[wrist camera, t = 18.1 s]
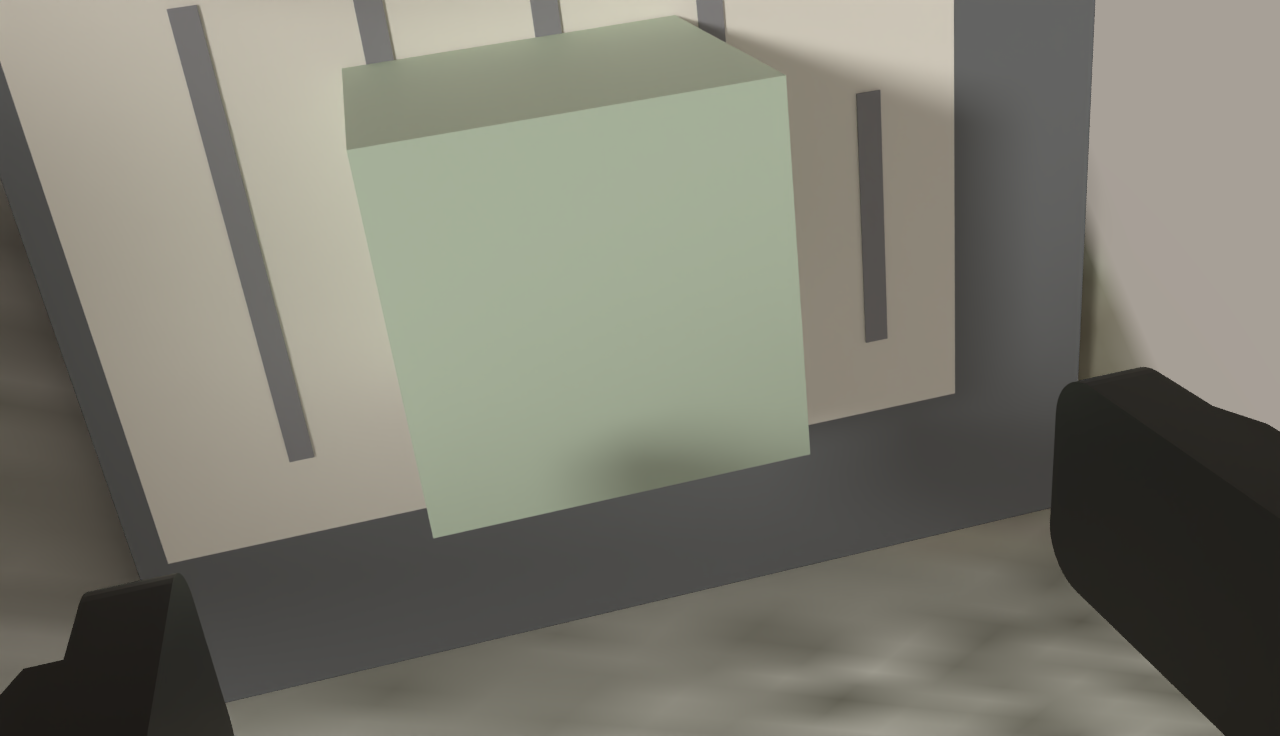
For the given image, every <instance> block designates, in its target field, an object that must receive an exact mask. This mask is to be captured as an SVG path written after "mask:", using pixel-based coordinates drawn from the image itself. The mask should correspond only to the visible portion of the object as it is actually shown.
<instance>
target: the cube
mask: <svg viewBox="0 0 1280 736" xmlns="http://www.w3.org/2000/svg"><path fill="white" fill-rule="evenodd" d="M342 82H343V99H344V116H345V133H346V150H347V155H348V159H349V164H350V168H351V172H352V177H353V181H354V186H355V190H356V195H357V199H358V204H359V208H360V213H361V217H362V222H363V226H364V231H365V235H366V240H367V244H368V248H369V253H370V257H371V262H372V266H373V271H374V275H375V280H376V284H377V289H378V293H379V298H380V302H381V307H382V311H383V316H384V320H385V324H386V329H387V333H388V338H389V342H390V347H391V351H392V356H393V360H394V365H395V369H396V374H397V378H398V383H399V387H400V392H401V396H402V400H403V405H404V409H405V414H406V418H407V423H408V427H409V432H410V436H411V441H412V445H413V450H414V454H415V459H416V463H417V467H418V472H419V476H420V481H421V485H422V490H423V494H424V499H425V503H426V508H427V512H428V517H429V521H430V526H431V530H432V535H433V538H438V537H442V536H447V535H451V534H456V533H460V532H464V531H469V530H473V529H478V528H482V527H487V526H491V525H496V524H500V523H505V522H509V521H514V520H518V519H523V518H527V517H532V516H536V515H541V514H545V513H550V512H554V511H559V510H563V509H568V508H572V507H576V506H581V505H585V504H590V503H594V502H599V501H603V500H608V499H612V498H617V497H621V496H626V495H630V494H635V493H639V492H644V491H648V490H653V489H657V488H662V487H666V486H671V485H675V484H680V483H684V482H688V481H693V480H697V479H702V478H706V477H711V476H715V475H720V474H724V473H729V472H733V471H738V470H742V469H747V468H751V467H756V466H760V465H765V464H769V463H774V462H778V461H783V460H787V459H791V458H796V457H800V456H805V455H809V454H810V442H809V426H808V411H807V395H806V380H805V364H804V348H803V333H802V317H801V302H800V286H799V270H798V255H797V239H796V224H795V208H794V193H793V177H792V161H791V146H790V130H789V115H788V99H787V83H786V75H784V74H783V73H781V72H779V71H777V70H775V69H773V68H772V67H770V66H768V65H766V64H764V63H762V62H761V61H759V60H757V59H755V58H753V57H751V56H749V55H748V54H746V53H744V52H742V51H740V50H738V49H737V48H735V47H733V46H731V45H729V44H727V43H726V42H724V41H722V40H720V39H718V38H716V37H715V36H713V35H711V34H709V33H707V32H705V31H703V30H702V29H700V28H698V27H696V26H694V25H692V24H691V23H689V22H687V21H685V20H683V19H681V18H680V17H678V16H676V15H673V16H667V17H661V18H654V19H648V20H642V21H636V22H629V23H623V24H617V25H611V26H604V27H598V28H592V29H586V30H579V31H573V32H567V33H561V34H554V35H548V36H542V37H535V38H529V39H523V40H517V41H510V42H504V43H498V44H492V45H485V46H479V47H473V48H467V49H460V50H454V51H448V52H442V53H435V54H429V55H423V56H417V57H410V58H404V59H398V60H392V61H385V62H379V63H373V64H367V65H360V66H354V67H348V68H342Z"/></svg>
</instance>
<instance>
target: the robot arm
mask: <svg viewBox="0 0 1280 736" xmlns="http://www.w3.org/2000/svg"><path fill="white" fill-rule="evenodd" d="M1050 532H1051V539H1052V545H1053V549H1054V552H1055V555H1056V558H1057V561H1058V563H1059V566H1060V568H1061V570H1062V572H1063V574H1064V575H1065V577H1066V579H1067V580H1068V582H1069V583H1070V584H1071V586H1072V587H1073V588H1074V589H1075V590H1076V591H1077V592H1078V593H1079V594H1080V595H1081V596H1082V597H1083V598H1084V599H1085V600H1086V601H1087V602H1088V603H1089V604H1090V605H1091V606H1092V607H1093V608H1094V609H1095V610H1096V611H1097V612H1098V613H1099V614H1100V615H1101V616H1102V617H1103V618H1104V619H1106V620H1107V621H1108V622H1109V623H1110V624H1111V625H1112V626H1113V627H1114V628H1115V629H1116V630H1117V631H1118V632H1119V633H1120V634H1121V635H1122V636H1123V637H1124V638H1125V639H1126V640H1127V641H1128V642H1129V643H1130V644H1131V645H1132V646H1133V647H1134V648H1135V649H1136V650H1137V651H1138V652H1140V653H1141V654H1142V655H1143V656H1144V657H1145V658H1146V659H1147V660H1148V661H1149V662H1150V663H1151V664H1152V665H1153V666H1154V667H1155V668H1156V669H1157V670H1158V671H1159V672H1160V673H1161V674H1162V675H1163V676H1164V677H1165V678H1166V679H1167V680H1168V681H1169V682H1170V683H1171V684H1173V685H1174V686H1175V687H1176V688H1177V689H1178V690H1179V691H1180V692H1181V693H1182V694H1183V695H1184V696H1185V697H1186V698H1187V699H1188V700H1189V701H1190V702H1191V703H1192V704H1193V705H1194V706H1195V707H1196V708H1197V709H1198V710H1199V711H1200V712H1201V713H1202V714H1203V715H1204V716H1205V717H1207V718H1208V719H1209V720H1210V721H1211V722H1212V723H1213V724H1214V725H1215V726H1216V727H1217V728H1218V729H1219V730H1220V731H1221V732H1222V733H1223V734H1224V735H1225V736H1280V431H1278V430H1276V429H1275V428H1273V427H1271V426H1270V425H1268V424H1266V423H1263V422H1260V421H1257V420H1253V419H1251V418H1248V417H1244V416H1241V415H1238V414H1235V413H1232V412H1229V411H1226V410H1223V409H1220V408H1217V407H1214V406H1212V405H1210V404H1209V403H1207V402H1205V401H1204V400H1202V399H1201V398H1199V397H1197V396H1196V395H1194V394H1193V393H1191V392H1189V391H1188V390H1186V389H1184V388H1183V387H1181V386H1180V385H1178V384H1177V383H1175V382H1173V381H1172V380H1170V379H1169V378H1167V377H1165V376H1164V375H1162V374H1161V373H1159V372H1157V371H1155V370H1153V369H1151V368H1147V367H1140V368H1135V369H1130V370H1126V371H1121V372H1116V373H1112V374H1107V375H1103V376H1098V377H1093V378H1089V379H1084V380H1079V381H1075V382H1071V383H1069V384H1067V385H1066V386H1065V387H1064V388H1063V390H1062V391H1061V393H1060V395H1059V397H1058V401H1057V406H1056V418H1055V438H1054V457H1053V476H1052V496H1051V515H1050ZM0 736H234V734H233V729H232V725H231V721H230V718H229V714H228V711H227V708H226V704H225V701H224V698H223V694H222V691H221V688H220V685H219V681H218V678H217V675H216V672H215V668H214V665H213V662H212V659H211V655H210V652H209V649H208V645H207V642H206V639H205V636H204V632H203V629H202V626H201V623H200V619H199V616H198V613H197V609H196V606H195V603H194V600H193V597H192V594H191V591H190V588H189V586H188V584H187V582H186V580H185V578H184V577H183V575H181V574H180V573H174V574H169V575H165V576H160V577H155V578H151V579H146V580H141V581H137V582H132V583H127V584H123V585H118V586H114V587H109V588H104V589H100V590H95V591H90V592H87V593H85V594H84V595H83V596H82V598H81V601H80V603H79V607H78V610H77V614H76V617H75V621H74V624H73V628H72V632H71V635H70V639H69V642H68V646H67V649H66V653H65V656H64V660H61V661H56V662H52V663H47V664H43V665H38V666H34V667H30V668H25V669H23V670H22V671H21V672H20V673H19V674H18V676H17V677H16V678H15V679H14V680H13V681H12V682H11V683H10V685H9V686H8V687H7V688H6V689H5V690H4V691H3V693H2V694H1V695H0Z"/></svg>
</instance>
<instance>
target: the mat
mask: <svg viewBox="0 0 1280 736" xmlns="http://www.w3.org/2000/svg"><path fill="white" fill-rule="evenodd" d="M673 15H676V16H678V17H680V18H681V19H683V20H685V21H687V22H689V23H691V24H692V25H694V26H696V27H698V28H700V29H702V30H703V31H705V32H707V33H709V34H711V35H713V36H715V37H716V38H718V39H720V40H722V41H724V42H726V43H727V44H729V45H731V46H733V47H735V48H737V49H738V50H740V51H742V52H744V53H746V54H748V55H749V56H751V57H753V58H755V59H757V60H759V61H761V62H762V63H764V64H766V65H768V66H770V67H772V68H773V69H775V70H777V71H779V72H781V73H783V74H784V75H786V83H787V99H788V115H789V130H790V146H791V161H792V177H793V193H794V208H795V224H796V239H797V255H798V270H799V286H800V302H801V317H802V333H803V348H804V364H805V380H806V395H807V411H808V426H809V442H810V454H809V455H805V456H800V457H796V458H791V459H787V460H783V461H778V462H774V463H769V464H765V465H760V466H756V467H751V468H747V469H742V470H738V471H733V472H729V473H724V474H720V475H715V476H711V477H706V478H702V479H697V480H693V481H688V482H684V483H680V484H675V485H671V486H666V487H662V488H657V489H653V490H648V491H644V492H639V493H635V494H630V495H626V496H621V497H617V498H612V499H608V500H603V501H599V502H594V503H590V504H585V505H581V506H576V507H572V508H568V509H563V510H559V511H554V512H550V513H545V514H541V515H536V516H532V517H527V518H523V519H518V520H514V521H509V522H505V523H500V524H496V525H491V526H487V527H482V528H478V529H473V530H469V531H464V532H460V533H456V534H451V535H447V536H442V537H438V538H433V535H432V530H431V526H430V521H429V517H428V512H427V508H426V503H425V499H424V494H423V490H422V485H421V481H420V476H419V472H418V467H417V463H416V459H415V454H414V450H413V445H412V441H411V436H410V432H409V427H408V423H407V418H406V414H405V409H404V405H403V400H402V396H401V392H400V387H399V383H398V378H397V374H396V369H395V365H394V360H393V356H392V351H391V347H390V342H389V338H388V333H387V329H386V324H385V320H384V316H383V311H382V307H381V302H380V298H379V293H378V289H377V284H376V280H375V275H374V271H373V266H372V262H371V257H370V253H369V248H368V244H367V240H366V235H365V231H364V226H363V222H362V217H361V213H360V208H359V204H358V199H357V195H356V190H355V186H354V181H353V177H352V172H351V168H350V164H349V159H348V155H347V150H346V133H345V116H344V99H343V82H342V68H348V67H354V66H360V65H367V64H373V63H379V62H385V61H392V60H398V59H404V58H410V57H417V56H423V55H429V54H435V53H442V52H448V51H454V50H460V49H467V48H473V47H479V46H485V45H492V44H498V43H504V42H510V41H517V40H523V39H529V38H535V37H542V36H548V35H554V34H561V33H567V32H573V31H579V30H586V29H592V28H598V27H604V26H611V25H617V24H623V23H629V22H636V21H642V20H648V19H654V18H661V17H667V16H673ZM1094 16H1095V0H0V178H1V181H2V184H3V187H4V190H5V193H6V195H7V198H8V201H9V204H10V207H11V210H12V213H13V216H14V218H15V221H16V224H17V227H18V230H19V233H20V236H21V238H22V241H23V244H24V247H25V250H26V253H27V256H28V259H29V261H30V264H31V267H32V270H33V273H34V276H35V279H36V282H37V284H38V287H39V290H40V293H41V296H42V299H43V302H44V304H45V307H46V310H47V313H48V316H49V319H50V322H51V325H52V327H53V330H54V333H55V336H56V339H57V342H58V345H59V347H60V350H61V353H62V356H63V359H64V362H65V365H66V368H67V370H68V373H69V376H70V379H71V382H72V385H73V388H74V391H75V393H76V396H77V399H78V402H79V405H80V408H81V411H82V413H83V416H84V419H85V422H86V425H87V428H88V431H89V434H90V436H91V439H92V442H93V445H94V448H95V451H96V454H97V456H98V459H99V462H100V465H101V468H102V471H103V474H104V477H105V479H106V482H107V485H108V488H109V491H110V494H111V497H112V500H113V502H114V505H115V508H116V511H117V514H118V517H119V520H120V522H121V525H122V528H123V531H124V534H125V537H126V540H127V543H128V545H129V548H130V551H131V554H132V557H133V560H134V563H135V565H136V568H137V571H138V574H139V577H140V580H146V579H151V578H155V577H160V576H165V575H169V574H174V573H180V574H181V575H183V577H184V578H185V580H186V582H187V584H188V586H189V588H190V591H191V594H192V597H193V600H194V603H195V606H196V609H197V613H198V616H199V619H200V623H201V626H202V629H203V632H204V636H205V639H206V642H207V645H208V649H209V652H210V655H211V659H212V662H213V665H214V668H215V672H216V675H217V678H218V681H219V685H220V688H221V691H222V694H223V698H224V701H225V703H227V702H231V701H235V700H239V699H244V698H248V697H252V696H256V695H261V694H265V693H269V692H273V691H278V690H282V689H286V688H290V687H294V686H299V685H303V684H307V683H311V682H316V681H320V680H324V679H328V678H333V677H337V676H341V675H345V674H350V673H354V672H358V671H362V670H366V669H371V668H375V667H379V666H383V665H388V664H392V663H396V662H400V661H405V660H409V659H413V658H417V657H422V656H426V655H430V654H434V653H438V652H443V651H447V650H451V649H455V648H460V647H464V646H468V645H472V644H477V643H481V642H485V641H489V640H493V639H498V638H502V637H506V636H510V635H515V634H519V633H523V632H527V631H532V630H536V629H540V628H544V627H549V626H553V625H557V624H561V623H565V622H570V621H574V620H578V619H582V618H587V617H591V616H595V615H599V614H604V613H608V612H612V611H616V610H621V609H625V608H629V607H633V606H637V605H642V604H646V603H650V602H654V601H659V600H663V599H667V598H671V597H676V596H680V595H684V594H688V593H693V592H697V591H701V590H705V589H709V588H714V587H718V586H722V585H726V584H731V583H735V582H739V581H743V580H748V579H752V578H756V577H760V576H765V575H769V574H773V573H777V572H781V571H786V570H790V569H794V568H798V567H803V566H807V565H811V564H815V563H820V562H824V561H828V560H832V559H837V558H841V557H845V556H849V555H853V554H858V553H862V552H866V551H870V550H875V549H879V548H883V547H887V546H892V545H896V544H900V543H904V542H909V541H913V540H917V539H921V538H925V537H930V536H934V535H938V534H942V533H947V532H951V531H955V530H959V529H964V528H968V527H972V526H976V525H980V524H985V523H989V522H993V521H997V520H1002V519H1006V518H1010V517H1014V516H1019V515H1023V514H1027V513H1031V512H1036V511H1040V510H1044V509H1048V508H1051V496H1052V476H1053V457H1054V438H1055V418H1056V406H1057V401H1058V397H1059V395H1060V393H1061V391H1062V390H1063V388H1064V387H1065V386H1066V385H1067V384H1069V383H1071V382H1075V381H1078V371H1079V349H1080V326H1081V304H1082V282H1083V260H1084V238H1085V215H1086V193H1087V171H1088V149H1089V127H1090V104H1091V82H1092V59H1093V37H1094Z"/></svg>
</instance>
